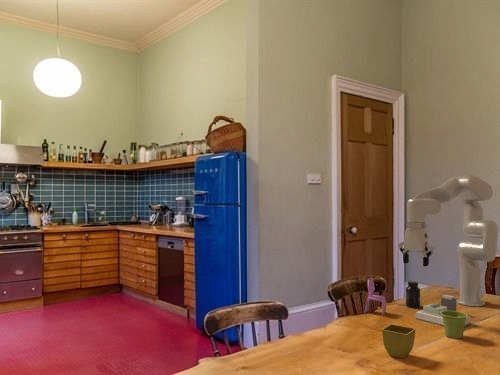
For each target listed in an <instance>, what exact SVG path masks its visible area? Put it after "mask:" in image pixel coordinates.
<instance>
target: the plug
mask: <svg viewBox="0 0 500 375" xmlns="http://www.w3.org/2000/svg"><path fill="white" fill-rule="evenodd" d="M441 296H442V297H441V298H440V302H441V303H440V305H441V306H445V307H447V311H457V298H456V296H454V295H448V294H444V295H441Z"/></svg>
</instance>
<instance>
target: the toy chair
mask: <svg viewBox="0 0 500 375" xmlns="http://www.w3.org/2000/svg"><path fill="white" fill-rule="evenodd" d="M367 291H368V297H367V298H366V300H365V301H366V302H365V308H364V312H363V314H365V313H366V312H368V311H369V309H370V302H371V301H377V302H381V305H382V310H381V311H382V312H381V315H382V316H383V315H384V314H386V311H387V299H386V296H385V295H375V294H374V293H373V292H374V291H375V282H374V281H373V280H372V279H367Z"/></svg>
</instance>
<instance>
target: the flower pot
mask: <svg viewBox="0 0 500 375" xmlns="http://www.w3.org/2000/svg"><path fill="white" fill-rule="evenodd" d="M381 333H382V334H381V335H382V341H383V346H384V349H385V350H386V352H387V354H388V356H391V357H395V358H399V359H406V357H408V356H409V355H410V353H411V352H412V349H413V347H414V345H415V338H416V328H414V327H410V326H409V327H408V326H405V325H404V326H403V325H399V324H393V323H390V324H388V325H386V326H385V327H383V328H382V329H381Z"/></svg>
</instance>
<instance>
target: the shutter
mask: <svg viewBox="0 0 500 375" xmlns="http://www.w3.org/2000/svg"><path fill="white" fill-rule="evenodd" d="M422 306H423V308H422V310H423V311H425V312H429V313H433V314H437V315H441V312H442V311H447V307H445V306H441V303H438V302H436V303H429V304H425V305H422Z"/></svg>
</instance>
